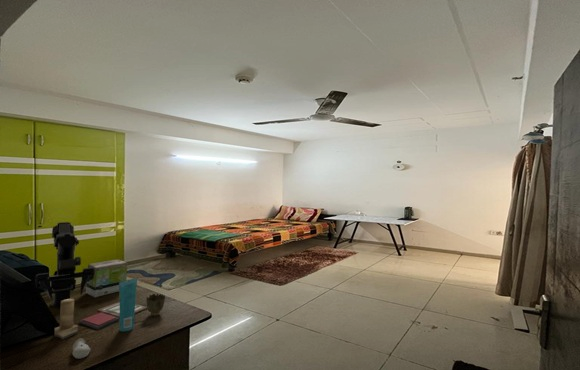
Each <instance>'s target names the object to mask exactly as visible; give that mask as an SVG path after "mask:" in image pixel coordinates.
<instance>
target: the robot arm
mask: <svg viewBox="0 0 580 370" xmlns="http://www.w3.org/2000/svg"><path fill="white" fill-rule="evenodd" d="M74 228H75V227H74V226H73V225H72V224H71V222H69V221H63V222H57V224H56V225H55V226H53V227H52V231H51V232H52V233H51V238H52V239H53V243H54V244H53V245H54V248H55V250H56V251H57V252H56V270H55V271H54V273H53V275H50V272H44V273H37V274H36V275H35V282H34V283H35V284H34V285H35V286H34V287H35V288H39V289H41V290H44V293H46V295H47V296H48V298H49V299H50V301H51V300H53V302H52V303H50V304H49V306H51V307H53V308H57V309H60V308H61V301H62V300H65V299H71V291H75V289H76V284H77V280H76V279H78V278H81V280H80V281H81V282H80V288H79V289H80V291H79V294H80V296H82V294H83V291H84V289H85V287H86V285H87V282H89V281H90V280H92V279H93V278H94V274H95V269H94V268H93V267H92V268H88V267H85V268H82V271H79V272H76V271H77V270H76V268H77V267H78V266H81V264H82V259H81V258H82V257H81V256H76V257H75V251H76V246H78V245H79V243H80V241H79V240H78V238H77V237H76V236H75V233H74V232H75V231H74V230H75V229H74Z"/></svg>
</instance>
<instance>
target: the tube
mask: <svg viewBox="0 0 580 370" xmlns="http://www.w3.org/2000/svg"><path fill="white" fill-rule="evenodd" d="M137 285H138V277H134V278H130V279H126V281H122V282H119V291H118V293H119V294H118V295H119V302H120V318H119V331H120V332H129V331H131V330H132V329H134V327H135V315H136V314H135V304H136V298H137V294H136V293H137Z"/></svg>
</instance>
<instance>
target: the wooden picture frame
mask: <svg viewBox="0 0 580 370" xmlns="http://www.w3.org/2000/svg"><path fill="white" fill-rule="evenodd" d="M145 310H148V309H147V306H144V305H140V304H136V303H135V314H134V315H136V314H139V313H140V312H143V311H145ZM97 312H98V313H100V312H102V313H105V314H108V315H111V316H115V317H118V318H119V319H120V301H118V302H115V303H113V304H110V305H107V306H104V307H101V308H99V309H97Z"/></svg>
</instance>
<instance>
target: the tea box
mask: <svg viewBox="0 0 580 370" xmlns="http://www.w3.org/2000/svg"><path fill="white" fill-rule="evenodd" d="M92 267H93V268H94V269H95V274H94V278H93V279H92V280H90V281H89V282H87V283H86V285H85V287H86V288H85V289H86V290H85V293H86V294H88V295H89V296H91V297H93V298H98V297H101V296H105V295H110V294H114V293H117V292H118V293H119V282H122V281H126V280H127V275H128V274H127V272H128V262H127V261H124V260H121V259H118V258H117V259H112V260H111V259H110V260H106V261H105V260H104V261H101V262H94V263H89V264H87V268H92Z"/></svg>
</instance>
